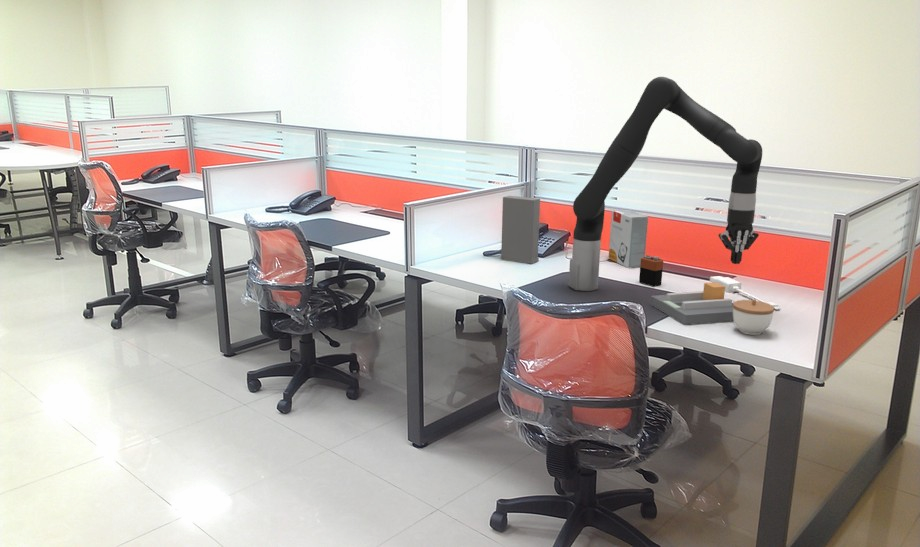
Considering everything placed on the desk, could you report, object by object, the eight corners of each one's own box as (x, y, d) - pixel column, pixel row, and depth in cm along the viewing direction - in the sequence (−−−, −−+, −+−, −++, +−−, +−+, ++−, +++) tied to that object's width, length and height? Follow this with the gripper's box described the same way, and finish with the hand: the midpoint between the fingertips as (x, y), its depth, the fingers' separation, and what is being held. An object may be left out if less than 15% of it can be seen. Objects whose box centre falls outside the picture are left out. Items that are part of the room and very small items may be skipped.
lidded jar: (747, 323, 209) (751, 292, 207) (779, 334, 200) (783, 302, 198) (722, 328, 204) (725, 297, 202) (752, 340, 195) (756, 307, 193)
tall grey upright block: (538, 261, 280) (541, 198, 274) (531, 264, 275) (534, 200, 269) (507, 256, 287) (509, 195, 281) (500, 259, 282) (502, 197, 276)
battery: (653, 286, 246) (656, 258, 244) (638, 282, 252) (640, 255, 249) (661, 285, 249) (664, 257, 246) (646, 280, 254) (648, 253, 252)
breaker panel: (684, 324, 207) (686, 308, 206) (650, 304, 226) (651, 289, 224) (747, 320, 212) (749, 304, 211) (708, 300, 231) (710, 286, 229)
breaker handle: (711, 303, 216) (713, 287, 215) (702, 298, 221) (704, 283, 220) (723, 302, 217) (725, 286, 216) (714, 297, 222) (715, 282, 221)
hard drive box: (607, 259, 286) (610, 209, 281) (624, 257, 288) (628, 209, 283) (627, 268, 271) (631, 216, 266) (645, 267, 274) (649, 215, 269)
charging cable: (770, 314, 221) (772, 304, 220) (708, 283, 251) (709, 274, 250) (784, 313, 222) (785, 303, 222) (720, 282, 252) (721, 273, 251)
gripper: (729, 210, 208) (723, 267, 213) (768, 208, 211) (762, 265, 216) (714, 206, 215) (709, 261, 220) (752, 204, 218) (746, 259, 223)
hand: (735, 263), depth 218 cm, fingers closed
